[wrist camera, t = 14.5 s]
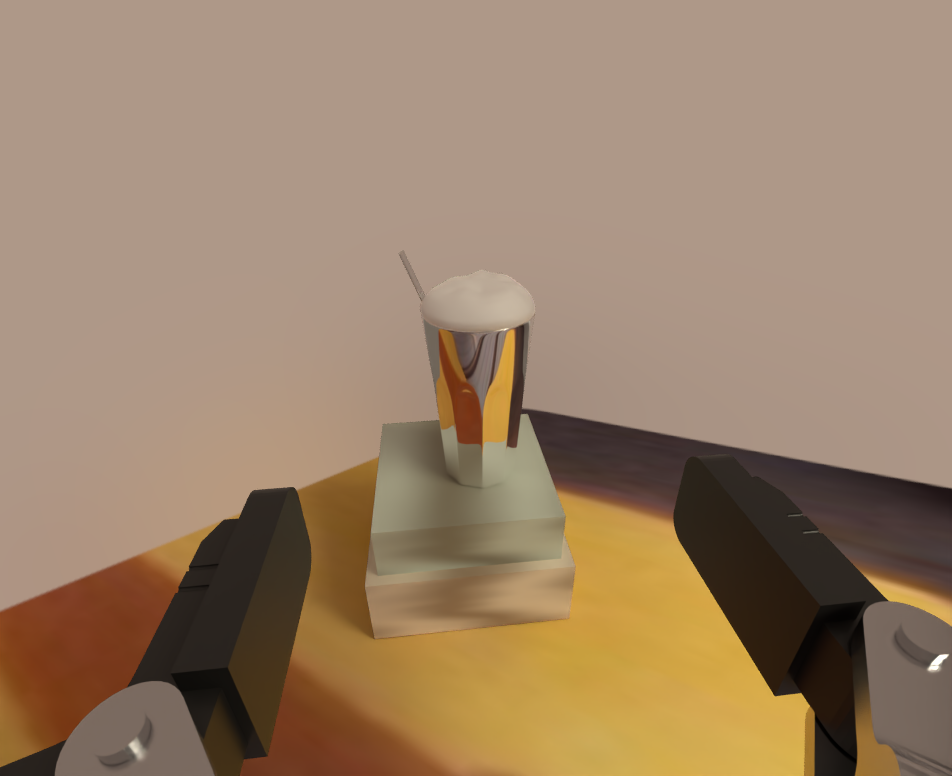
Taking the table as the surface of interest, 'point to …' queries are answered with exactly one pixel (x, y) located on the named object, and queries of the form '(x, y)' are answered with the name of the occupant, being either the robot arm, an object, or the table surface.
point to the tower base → (469, 597)
